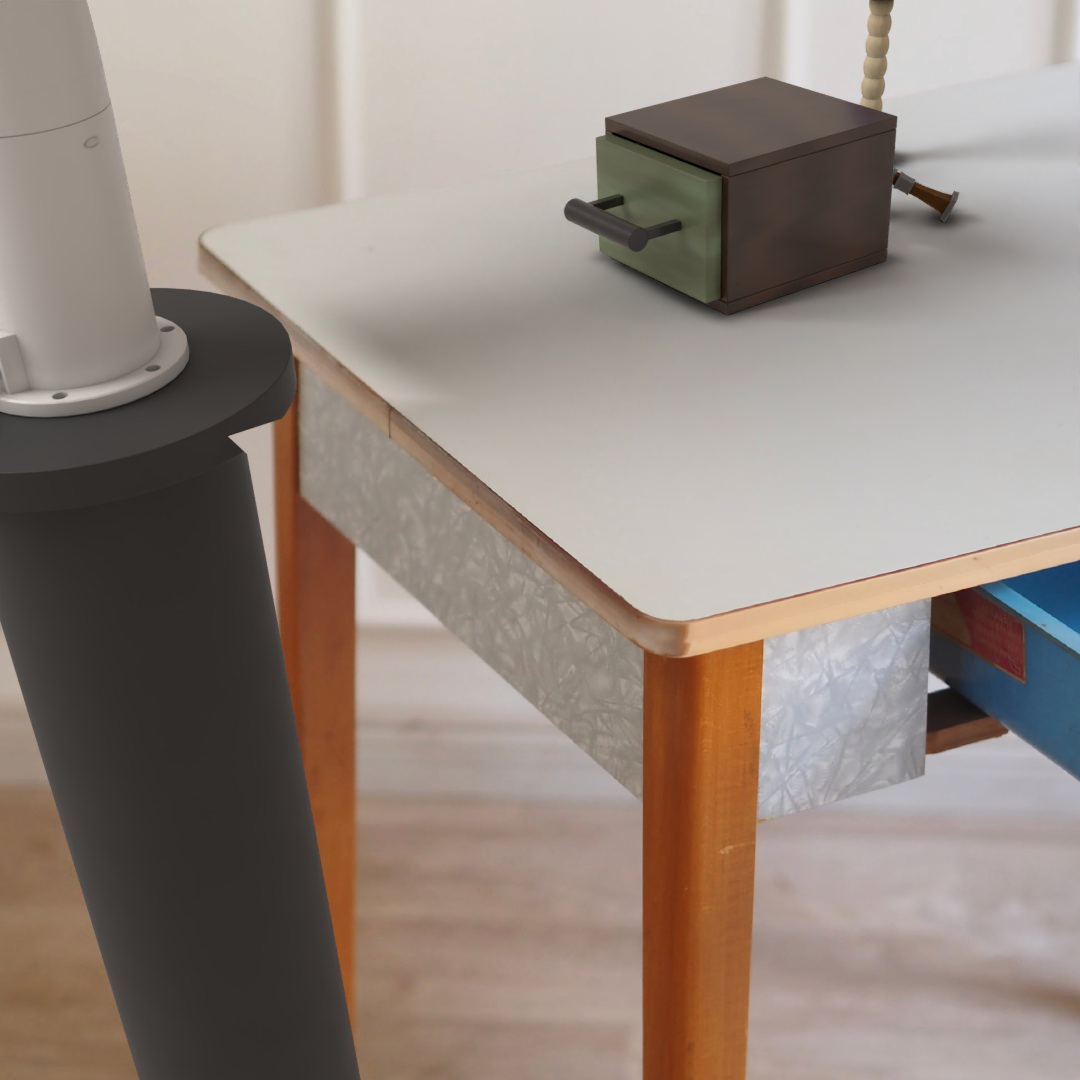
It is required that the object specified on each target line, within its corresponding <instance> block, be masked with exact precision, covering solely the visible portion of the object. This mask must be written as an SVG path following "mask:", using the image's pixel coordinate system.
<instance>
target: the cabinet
mask: <svg viewBox="0 0 1080 1080" xmlns="http://www.w3.org/2000/svg"><path fill="white" fill-rule="evenodd" d="M897 127H898V116H897V115H894V114H892V113H888V112H885V111H883V110H882V111H878V110H875V109H872V108H868V107H865V106H862V105H859V104H858V103H856V102H852V101H848V100H845V99H843V98H842V99H841V98H838V97H836V96H835V97H834V96H831V95H828V94H826V93H822V92H818V91H816V90H811V89H809V88H805V87H802V86H799V85H795V84H793V83H789V82H785V81H782V80H779V79H776V78H772V77H769V76H766V75H765V76H762V77H758V78H755V79H750V80H746V81H742V82H739V83H735V84H731V85H727V86H722V87H719V88H716V89H711V90H707V91H704V92H700V93H696V94H692V95H688V96H684V97H680V98H676V99H672V100H668V101H664V102H660V103H656V104H652V105H649V106H645V107H641V108H638V109H633V110H629V111H625V112H621V113H617V114H614V115H613V114H612V115H609V116H606V117H604V129H605V130H604V135H607V134H612V135H615V136H617V137H620V138H623V139H625V140H628V141H630V142H633V140H634V141H637V142H639V143H642V144H645V145H647V146H650V147H652V148H655V149H658V150H660V151H663V152H665V153H668V154H671V155H673V156H676V157H678V158H681V159H684V160H686V161H689V162H691V163H694V164H697V165H699V166H702V167H704V168H707V169H709V170H712V171H715V172H717V173H720V174H722V175H721V177H722V212H721V298H720V299H718V300H715V301H712V302H709V303H704V302H702V301H700V300H698V299H696V298H694V297H692V296H690V295H688V294H686V293H683V292H681V291H679V290H677V289H675V288H673V287H671V286H669V285H667V284H665V283H663V282H661V281H659V280H657V279H655V278H653V277H651V276H649V275H647V274H645V273H643V272H641V271H639V270H636V269H634V268H632V267H630V266H628V265H626V264H624V263H622V262H620V261H618V260H616V259H614V258H612V257H610V256H608V257H609V258H610V259H612V260H614V261H616V262H619V263H621V264H622V265H625V266H626V267H629V268H631V269H633V270H635V271H637V272H639V273H641V274H643V275H645V276H647V277H648V278H651V279H653V280H655V281H658V282H659V283H661V284H664V285H665V286H667V287H670V288H672V289H673V290H675V291H677V292H680V293H682V294H684V295H686V296H688V297H689V298H691V299H694V300H696V301H698V302H700V303H702V304H704V305H706V306H708V307H710V308H713V309H714V310H716V311H719V312H721V313H723V314H725V315H732V314H734V313H736V312H740V311H742V310H746V309H749V308H752V307H754V306H757V305H760V304H762V303H766V302H768V301H771V300H774V299H777V298H780V297H784V296H786V295H789V294H792V293H794V292H795V293H796V292H798V291H800V290H801V291H802V290H804V289H807V288H810V287H813V286H815V285H818V284H821V283H824V282H827V281H830V280H833V279H836V278H839V277H842V276H844V275H847V274H851V273H854V272H856V271H859V270H862V269H866V268H868V267H870V266H871V267H872V266H874V265H876V264H880V263H882V262H883V263H884V262H886V261H887V259H888V248H889V236H890V235H889V234H890V223H891V220H890V219H891V210H892V209H891V207H892V195H893V194H892V193H893V185H892V183H893V169H894V168H895V157H896V156H895V155H896V154H895V153H896V141H897Z"/></svg>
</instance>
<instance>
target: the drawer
mask: <svg viewBox="0 0 1080 1080" xmlns="http://www.w3.org/2000/svg"><path fill="white" fill-rule="evenodd" d="M595 160H596V163H595V164H596V189H597V190H596V191H597V199H595V200H592V201H588V202H587V201H584V200H582V199H580V198H578V197H574V198H571V199H569V200H568V201H567V202H566V204H565V205H564V209H563V215H564V218H565V220H566V221H568V222H570V223H572V224H575V225H577V226H579V227H581V228H582V229H585V230H587V231H589V232H591V233H593V234H595V235H597V236H598V244H599V245H598V246H599V247H598V248H599V249H598V251H599V252H600V253H601V254H604V255H605V256H608V257H609V256H610V257H612V258H614V259H616V260H618V261H620V262H622V263H621V264H623V263H624V264H623V265H625V264H626V265H625V266H627V265H628V266H627V267H629V266H630V267H629V268H631V267H632V268H631V269H633V268H634V269H633V270H635V269H636V270H635V271H637V270H639V271H641V272H643V273H645V274H647V275H649V276H651V277H653V278H655V279H657V280H659V281H661V282H663V283H665V284H667V285H669V286H671V287H673V288H672V289H674V288H675V289H674V290H676V289H677V290H676V291H678V290H679V291H678V292H680V291H681V292H680V293H682V292H683V293H682V294H684V293H686V294H688V295H690V296H692V297H694V298H696V299H698V300H700V301H702V302H704V303H709V302H712V301H715V300H718V299H720V298H721V212H722V177H721V176H718V175H715V174H713V173H710V172H708V171H705V170H702V169H700V168H697V167H695V166H694V165H697V164H694V163H691V162H689V161H686V160H684V159H681V158H678V157H676V156H673V155H671V154H668V153H665V152H663V151H660V150H658V149H655V148H652V147H650V146H647V145H645V144H642V143H639V142H637V141H634V140H633V142H630V141H628V140H625V139H623V138H620V137H617V136H615V135H612V134H607V135H605V134H604V135H600V136H597V137H595ZM610 257H609V258H610ZM612 258H611V259H612ZM614 259H613V260H614ZM616 260H615V261H616ZM618 261H617V262H618ZM620 262H619V263H620ZM639 271H638V272H639ZM641 272H640V273H641ZM643 273H642V274H643ZM645 274H644V275H645ZM647 275H646V276H647ZM649 276H648V277H649ZM651 277H650V278H651ZM653 278H652V279H653ZM655 279H654V280H655ZM657 280H656V281H657ZM659 281H658V282H659ZM661 282H660V283H661ZM663 283H662V284H663ZM665 284H664V285H665ZM667 285H666V286H667ZM669 286H668V287H669ZM671 287H670V288H671ZM686 294H685V295H686ZM688 295H687V296H688ZM690 296H689V297H690ZM692 297H691V298H692ZM694 298H693V299H694ZM696 299H695V300H696ZM698 300H697V301H698ZM700 301H699V302H700ZM702 302H701V303H702ZM704 303H703V304H704Z"/></svg>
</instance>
